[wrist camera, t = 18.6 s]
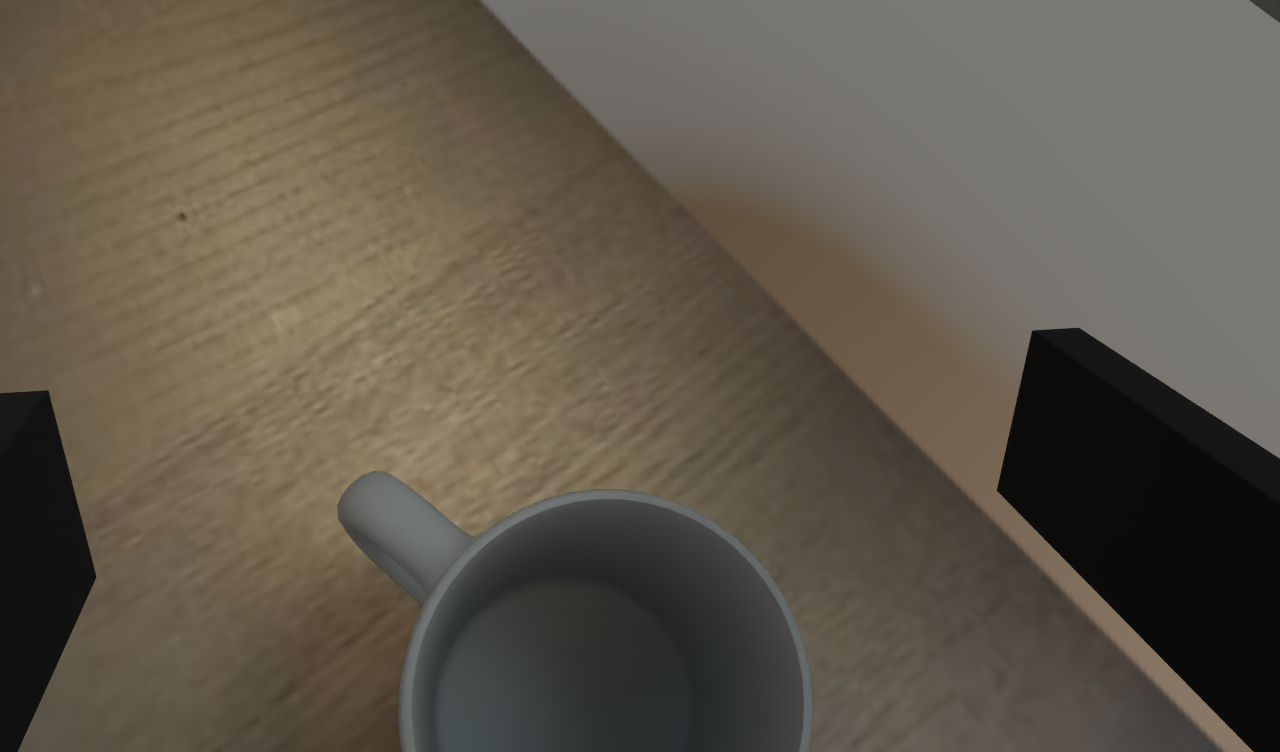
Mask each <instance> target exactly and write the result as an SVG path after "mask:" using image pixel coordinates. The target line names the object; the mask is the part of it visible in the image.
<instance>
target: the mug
mask: <svg viewBox="0 0 1280 752" xmlns="http://www.w3.org/2000/svg"><path fill="white" fill-rule="evenodd" d="M338 518H339V521H340V522H341V524H342V526H343V527H344V529H345V530H346V532H347V533H348V535H349V536H350V537H351V538H352V540H353V541H354V542H355V543H356V544H357V546H358V547H359V548H360V549H361V550H362V551H363V552H364V553H365V554H366V555H367V556H368V557H369V558H370V559H371V560H372V561H373V562H374V563H375V564H376V565H377V566H378V567H379V568H380V569H381V570H382V571H383V572H385V573H386V574H387V575H388V576H389V577H390V578H391V579H392V580H393V581H395V582H396V583H397V584H398V585H399V586H400V587H401V588H402V589H404V590H405V591H406V592H407V593H408V594H409V595H410V596H411V597H413V598H414V599H415V600H416V601H417V602H418V603H419V604H420V605H421V606H422V609H421V611H420V614H419V616H418V618H417V620H416V622H415V625H414V627H413V629H412V633H411V636H410V639H409V642H408V646H407V649H406V652H405V655H404V661H403V666H402V672H401V677H400V683H399V698H398V724H399V736H400V746H401V751H402V752H808V751H809V745H810V738H811V732H812V711H813V698H812V686H811V674H810V669H809V664H808V660H807V655H806V650H805V646H804V643H803V640H802V637H801V634H800V631H799V628H798V625H797V622H796V620H795V618H794V616H793V614H792V612H791V609H790V607H789V605H788V603H787V601H786V599H785V597H784V595H783V594H782V592H781V591H780V589H779V587H778V586H777V584H776V583H775V581H774V579H773V578H772V576H771V575H770V574H769V572H768V571H767V570H766V569H765V567H764V566H763V565H762V564H761V562H760V561H759V560H758V559H757V558H756V556H755V555H754V554H753V553H752V552H751V551H750V550H749V549H748V548H747V547H746V546H744V545H743V544H742V543H741V542H740V541H739V540H738V539H737V538H736V537H735V536H734V535H732V534H731V533H730V532H728V531H727V530H726V529H724V528H723V527H722V526H720V525H719V524H718V523H716V522H715V521H713V520H711V519H710V518H708V517H706V516H704V515H703V514H701V513H699V512H697V511H696V510H694V509H692V508H689V507H687V506H684V505H682V504H680V503H677V502H675V501H672V500H670V499H666V498H662V497H659V496H655V495H651V494H648V493H642V492H635V491H628V490H612V489H595V490H586V491H578V492H570V493H567V494H563V495H559V496H555V497H551V498H547V499H544V500H542V501H539V502H537V503H534V504H532V505H529V506H527V507H524V508H522V509H520V510H518V511H516V512H514V513H513V514H511V515H509V516H507V517H505V518H504V519H502V520H500V521H498V522H497V523H496V524H494V525H493V526H492V527H490V528H489V529H488V530H486V531H485V532H484V533H482V534H481V535H480V536H478V537H477V538H475V537H473V536H470V535H469V534H467V533H466V532H464V531H463V530H461V529H460V528H459V527H458V526H456V525H455V524H454V523H452V522H451V521H450V520H449V519H448V518H447V517H445V516H444V515H443V514H442V513H441V512H440V511H438V510H437V509H436V508H435V507H434V506H433V505H431V504H430V503H429V502H428V501H426V500H425V499H424V498H423V497H422V496H420V495H419V494H418V493H416V492H415V491H414V490H413V489H411V488H410V487H409V486H407V485H406V484H404V483H403V482H402V481H400V480H399V479H397V478H396V477H394V476H392V475H390V474H389V473H385V472H378V471H372V472H370V473H368V474H365V475H363V476H361V477H359V478H358V479H357V480H356V481H354V482H353V483H352V484H351V485H350V486H349V487H348V488H347V489H346V491H345V492H344V493H343V494H342V496H341V498H340V501H339V503H338Z"/></svg>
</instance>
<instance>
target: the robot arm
mask: <svg viewBox="0 0 1280 752" xmlns="http://www.w3.org/2000/svg"><path fill="white" fill-rule="evenodd" d="M997 491H998V492H999V493H1000V494H1001V495H1002V496H1003V497H1004V498H1005V499H1006V500H1007V501H1008V502H1009V503H1010V504H1011V505H1012V506H1013V507H1014V508H1015V510H1017V511H1018V513H1020V514H1021V516H1023V518H1024V519H1025V520H1026V521H1027V522H1028V523H1029V524H1030V525H1031V526H1032V527H1033V528H1034V529H1035V530H1036V531H1037V532H1038V533H1039V534H1040V535H1041V536H1042V537H1043V538H1044V539H1045V540H1046V541H1047V542H1048V543H1049V544H1050V545H1051V546H1052V547H1053V548H1054V549H1055V550H1056V551H1057V552H1058V553H1059V554H1060V555H1061V556H1062V557H1063V558H1064V559H1065V560H1066V561H1067V562H1068V563H1069V564H1070V565H1071V566H1072V568H1073V569H1074V570H1076V572H1077V573H1078V574H1079V575H1080V576H1082V578H1083V579H1084V580H1085V581H1086V582H1087V583H1088V584H1089V585H1090V586H1091V587H1092V588H1093V589H1094V590H1095V591H1096V592H1097V593H1098V594H1099V595H1100V596H1101V597H1102V598H1103V599H1104V600H1105V601H1106V602H1107V603H1108V604H1109V605H1110V606H1111V607H1112V608H1113V609H1114V610H1115V611H1116V612H1117V613H1118V614H1119V615H1120V616H1121V617H1122V618H1123V619H1124V620H1125V621H1126V622H1127V623H1128V624H1129V626H1131V627H1132V629H1133V630H1134V631H1135V632H1136V633H1137V634H1139V636H1141V638H1143V640H1144V641H1145V642H1146V643H1147V644H1148V645H1149V646H1150V647H1151V648H1152V649H1153V650H1154V651H1155V652H1156V653H1157V654H1158V655H1159V656H1160V657H1161V658H1162V659H1163V660H1164V661H1165V662H1166V663H1167V664H1168V665H1169V666H1170V667H1171V668H1172V669H1173V670H1174V671H1175V672H1176V673H1177V674H1178V675H1179V676H1180V677H1181V678H1182V679H1183V680H1184V681H1185V682H1186V683H1187V684H1188V686H1190V688H1191V689H1192V690H1193V691H1194V692H1195V693H1196V694H1197V695H1199V697H1201V699H1202V700H1203V701H1204V702H1205V703H1206V704H1207V705H1208V706H1209V707H1210V708H1211V709H1212V710H1213V711H1214V712H1215V713H1216V714H1217V715H1218V716H1219V717H1220V718H1221V719H1222V720H1223V721H1224V722H1225V723H1226V724H1227V725H1228V726H1229V727H1230V728H1231V729H1232V730H1233V731H1234V732H1235V733H1236V734H1237V735H1238V736H1239V737H1240V738H1241V739H1242V740H1243V741H1244V742H1245V744H1247V745H1248V747H1249V748H1250V749H1251V750H1252V751H1253V752H1280V459H1279V458H1278V457H1276V456H1275V455H1273V454H1272V453H1270V452H1269V451H1267V450H1265V449H1264V448H1262V447H1261V446H1259V445H1258V444H1256V443H1255V442H1253V441H1252V440H1250V439H1249V438H1247V437H1245V436H1244V435H1243V434H1241V433H1239V432H1238V431H1236V430H1235V429H1233V428H1232V427H1230V426H1229V425H1227V424H1226V423H1224V422H1222V421H1221V420H1219V419H1218V418H1216V417H1215V416H1213V415H1212V414H1210V413H1209V412H1207V411H1206V410H1204V409H1203V408H1201V407H1200V406H1198V405H1196V404H1195V403H1193V402H1192V401H1190V400H1189V399H1187V398H1186V397H1184V396H1183V395H1181V394H1180V393H1178V392H1176V391H1175V390H1173V389H1172V388H1170V387H1169V386H1167V385H1166V384H1164V383H1163V382H1161V381H1159V380H1158V379H1157V378H1155V377H1153V376H1152V375H1150V374H1149V373H1147V372H1146V371H1144V370H1143V369H1141V368H1140V367H1138V366H1137V365H1135V364H1133V363H1132V362H1130V361H1129V360H1127V359H1126V358H1124V357H1123V356H1121V355H1120V354H1118V353H1117V352H1115V351H1114V350H1112V349H1110V348H1109V347H1107V346H1106V345H1104V344H1103V343H1101V342H1100V341H1098V340H1097V339H1095V338H1093V337H1092V336H1090V335H1089V334H1087V333H1086V332H1084V331H1083V330H1081V329H1080V328H1068V329H1052V330H1035V331H1032V334H1031V338H1030V343H1029V348H1028V352H1027V356H1026V361H1025V366H1024V370H1023V375H1022V380H1021V384H1020V388H1019V393H1018V397H1017V402H1016V406H1015V411H1014V415H1013V420H1012V424H1011V429H1010V433H1009V438H1008V443H1007V447H1006V451H1005V456H1004V461H1003V465H1002V469H1001V474H1000V479H999V483H998V488H997ZM95 579H96V573H95V569H94V566H93V562H92V558H91V554H90V550H89V546H88V542H87V539H86V535H85V531H84V527H83V523H82V519H81V515H80V511H79V508H78V504H77V500H76V496H75V492H74V488H73V484H72V480H71V477H70V473H69V469H68V465H67V461H66V457H65V453H64V450H63V446H62V442H61V438H60V434H59V430H58V426H57V422H56V419H55V415H54V411H53V407H52V403H51V399H50V395H49V391H48V390H47V391H31V392H14V393H0V752H18V750H19V747H20V745H21V743H22V741H23V739H24V736H25V734H26V732H27V730H28V727H29V725H30V723H31V721H32V719H33V716H34V714H35V712H36V710H37V708H38V705H39V703H40V701H41V699H42V696H43V694H44V692H45V690H46V688H47V685H48V683H49V681H50V679H51V677H52V674H53V672H54V670H55V668H56V665H57V663H58V661H59V659H60V657H61V654H62V652H63V650H64V648H65V646H66V643H67V641H68V639H69V637H70V634H71V632H72V630H73V628H74V626H75V623H76V621H77V619H78V617H79V615H80V612H81V610H82V608H83V606H84V603H85V601H86V599H87V597H88V595H89V592H90V590H91V588H92V586H93V584H94V581H95Z"/></svg>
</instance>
